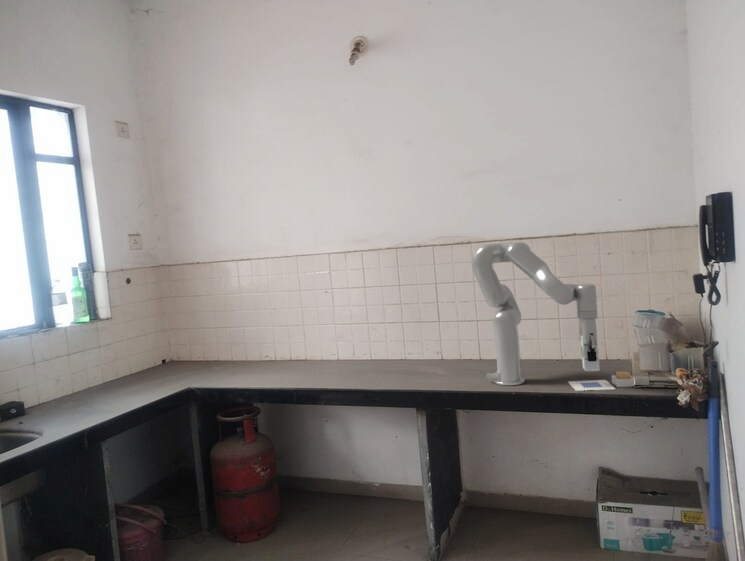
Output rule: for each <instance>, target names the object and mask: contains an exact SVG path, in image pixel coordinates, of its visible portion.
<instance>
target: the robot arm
mask: <svg viewBox="0 0 745 561" xmlns="http://www.w3.org/2000/svg"><path fill="white" fill-rule="evenodd" d="M472 257H473V258H472V262H471V263H472V264H471V266H472V271H473V274H474V276H475V278H476V280H477V282H478V286H479V288H480V290H481V293H482V294H483V298H484V301H485V302H486V304H487V305H488V306H489V307H491V308H493V309H494V308H495V310H496V313H495V314H494V316H493V320H492V326H493V334H494V339H495V354H496V366H497V367H496V368H497V369H496V370H495V371H496V372H493V373H486V378H487V379H490V380H491V379H493V380H494V383H495V384H497V385H499V386H518V385H522V384H524V383H525V378H524V377H521V363H520V345H519V335H518V330H517V327H518V325H519V324H521V322H522V313H521V311H520V308H519V305H518V303H517V301H516V299H515V296H514V295H513V293H512V290H511V289H510V288H509V286H507V285H505V284H502V283H501V281H500V279H499V278H498V274H497V273H496V271H495V270H494V268H493V265H494V264H499V263H512V264H513V265H514V266H516V267H517V268H518V269H520V270H521V272H523V273H524V274H526V276H528V277H529V278H530V279H531V280H532V281H533V282H534V283H535V284H536V285H537V286H538V287H539V289H540V290H542V292H544V293H545V295H548V297H550V298H551V299H552V300H553V301H554V302H556V303H557V304H558V305H559V304H560V305H562V306H563V305H564V306H566V305H569V304H570V303H571V302H576V311H577V312H576V314H577V320H578V336H579V337H578V338H579V339H578V340H579V341H580V342H581V336H583V343H584V344H586V343H587V347H588V351H587V355H588V361H589V362H590V361H597V359H596V346H595V345H596V343H597V344H598V335H597V334H598V333H597V332H598V331H597V322H596V320H597V319H599V317H598V303H597V288H596V287H597V286H596V285H595V284H594V283H582V284H575V283H574V284H572V283H564V282H562V281H561V280H560V279H559V278H557V277H556V276H555V275H554V274H553V273H552V272H551V270H550V268H549V265H547V263H546V262H545V261H544V260H542V258H540V257H539V256H538V255H536V254H535V253H534V252H533V251H532V250H531V248H530V246H529V245H528V244H527V243H526V242H523V241H518V242H517V241H516V242H505V243H501V242H499V243H488V244H484V245H481V247H479V248H478V249H477V251H476V252H475V253H474V255H473V256H472ZM594 339H595V340H596V342H595V340H594ZM589 342H591V343H589ZM589 345H591V346H589Z"/></svg>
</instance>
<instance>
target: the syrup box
mask: <svg viewBox="0 0 745 561" xmlns="http://www.w3.org/2000/svg"><path fill="white" fill-rule="evenodd" d="M594 340H595V339H594ZM595 342H596V340H595ZM589 343H591V342H589ZM598 344H599V343H598V342H597V343H596V345H595V346H596V359H597V361H590V362H589V361H588V355H587V351H588V347H587V343H586V344H584V343H583V336H581V341H580V350H581V363H582V369H583V370H584V372H599V371H600V370H601V368H600V357H599V347H598V346H599V345H598ZM589 346H591V345H589Z"/></svg>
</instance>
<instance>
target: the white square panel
mask: <svg viewBox="0 0 745 561" xmlns="http://www.w3.org/2000/svg"><path fill="white" fill-rule="evenodd" d="M567 383H568V384H569V385H570V386H571V387H572V389H573V388H574V389H575V390H574V389H573V390H574V391H575V392H588V391H589V390H594V391H610V390H611V391H613V390H614V391H615V390H617V388H616V387H614V385H613V384H611V383H610V382H609V381H608V380H606V379H597V380H596V379H594V380H592V379H591V380H569V381H567ZM584 390H585V391H584ZM587 390H588V391H587Z"/></svg>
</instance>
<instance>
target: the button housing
mask: <svg viewBox="0 0 745 561" xmlns="http://www.w3.org/2000/svg"><path fill="white" fill-rule="evenodd" d="M630 376H631V378H628V379H618V378H617V377H616V374H612V375H611V383H612V385H613V386H615V388H616V387H617V388H628V387H631V388H632V386H633V387H635V386H634V379H633V377H634V376H632V375H631V374H630Z"/></svg>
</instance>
